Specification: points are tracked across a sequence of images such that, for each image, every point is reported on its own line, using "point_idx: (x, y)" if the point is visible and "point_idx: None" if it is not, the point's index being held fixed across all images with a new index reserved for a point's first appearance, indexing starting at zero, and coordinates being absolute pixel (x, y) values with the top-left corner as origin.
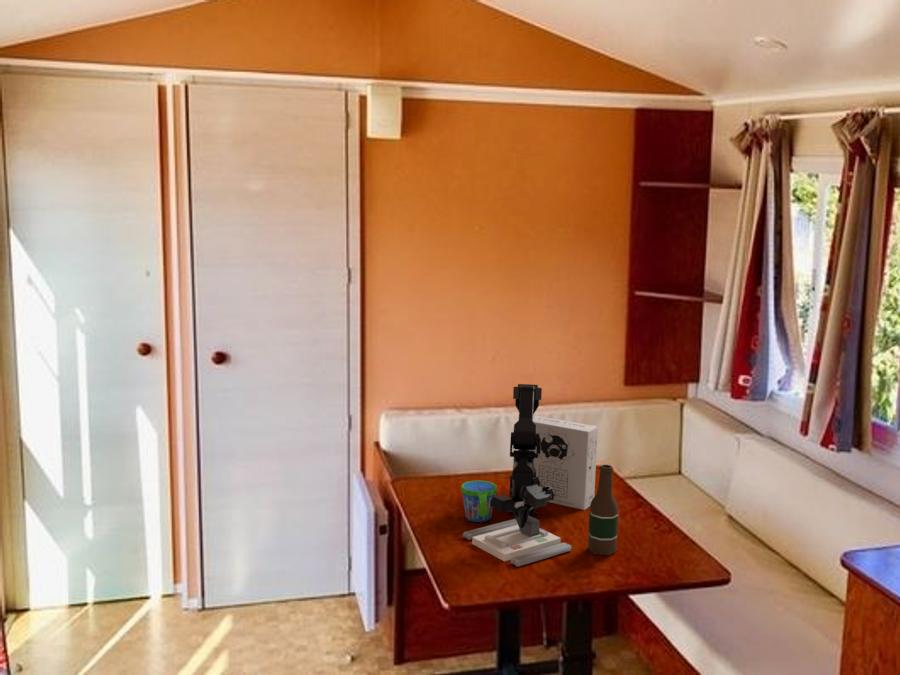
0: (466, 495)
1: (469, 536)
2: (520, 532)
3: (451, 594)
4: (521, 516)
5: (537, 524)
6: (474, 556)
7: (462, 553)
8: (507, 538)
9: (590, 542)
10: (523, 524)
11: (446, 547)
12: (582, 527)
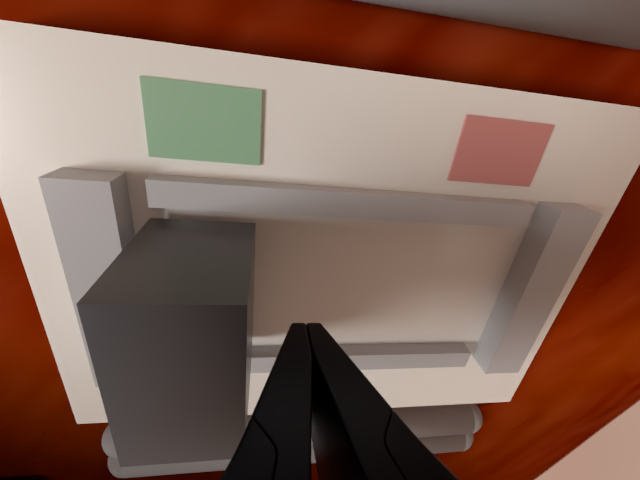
0: None
1: (480, 415)
2: None
3: None
4: (398, 439)
5: (141, 277)
6: (614, 266)
7: (606, 319)
8: (399, 304)
9: None
10: (306, 344)
11: (579, 388)
12: None
